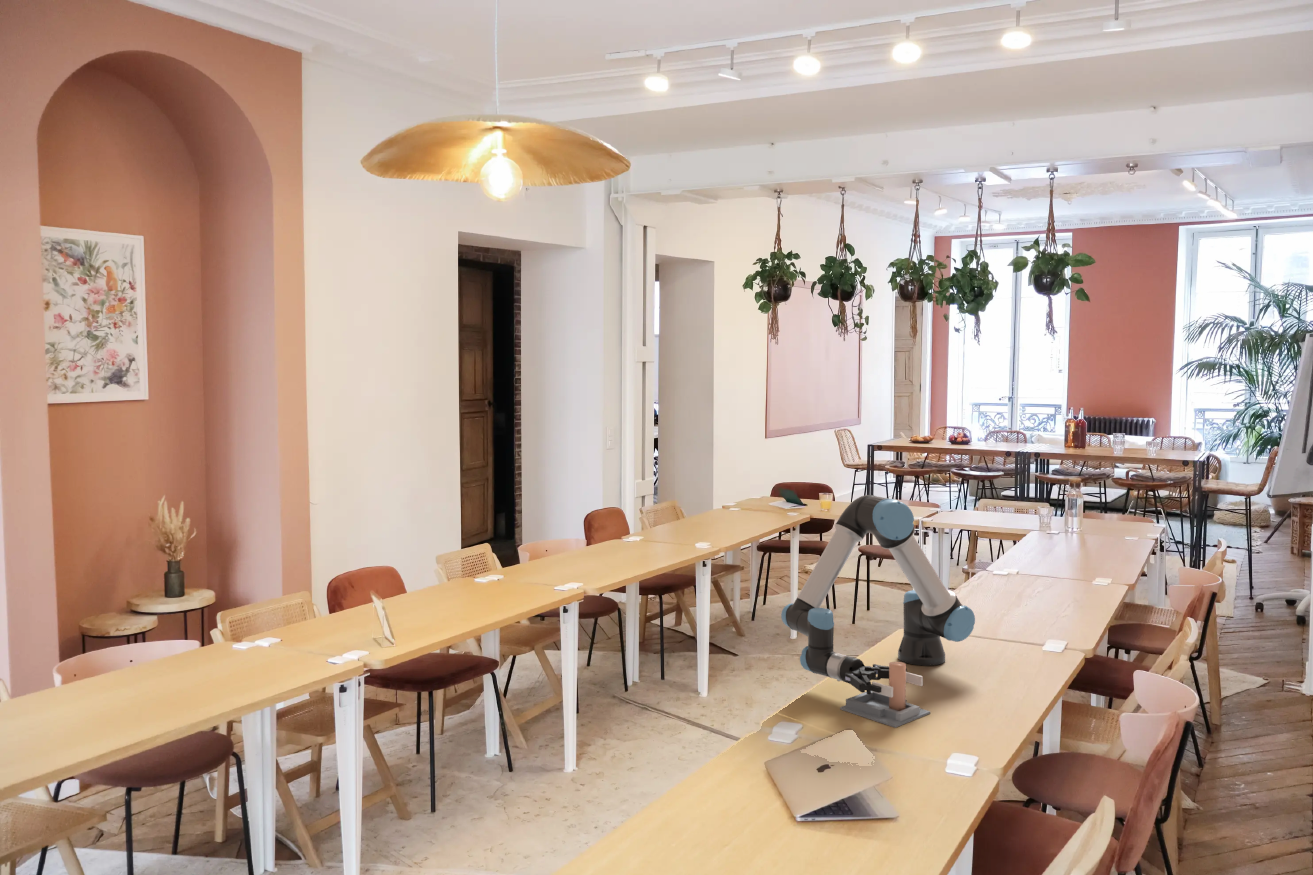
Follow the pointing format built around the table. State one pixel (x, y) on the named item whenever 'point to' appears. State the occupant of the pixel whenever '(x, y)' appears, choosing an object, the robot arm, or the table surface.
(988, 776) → the table surface
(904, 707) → the tall peach cylinder
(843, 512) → the robot arm
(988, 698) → the table surface
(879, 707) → the keyhole board
